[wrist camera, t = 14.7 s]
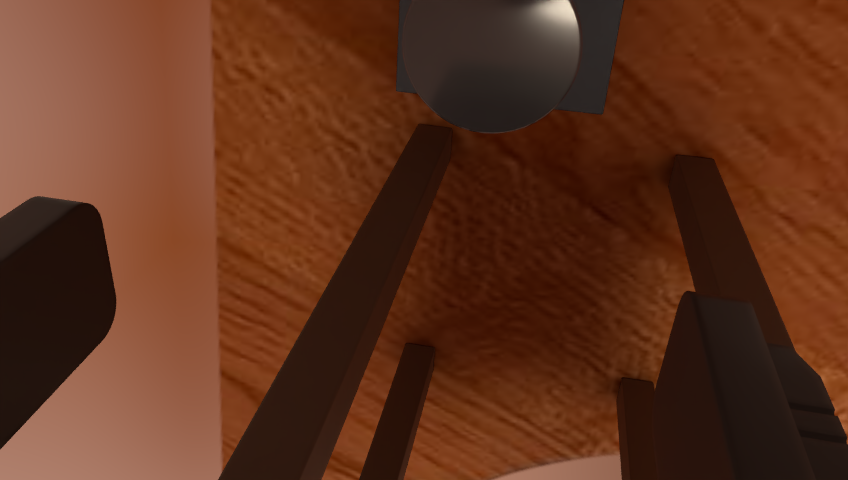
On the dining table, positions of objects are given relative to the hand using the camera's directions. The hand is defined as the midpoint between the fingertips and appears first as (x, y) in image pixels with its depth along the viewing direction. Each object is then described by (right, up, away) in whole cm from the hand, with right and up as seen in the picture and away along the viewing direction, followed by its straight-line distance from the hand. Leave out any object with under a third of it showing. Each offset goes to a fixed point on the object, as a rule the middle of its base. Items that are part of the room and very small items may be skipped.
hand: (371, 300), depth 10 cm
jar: (+4, +10, +19) cm, 23 cm away
